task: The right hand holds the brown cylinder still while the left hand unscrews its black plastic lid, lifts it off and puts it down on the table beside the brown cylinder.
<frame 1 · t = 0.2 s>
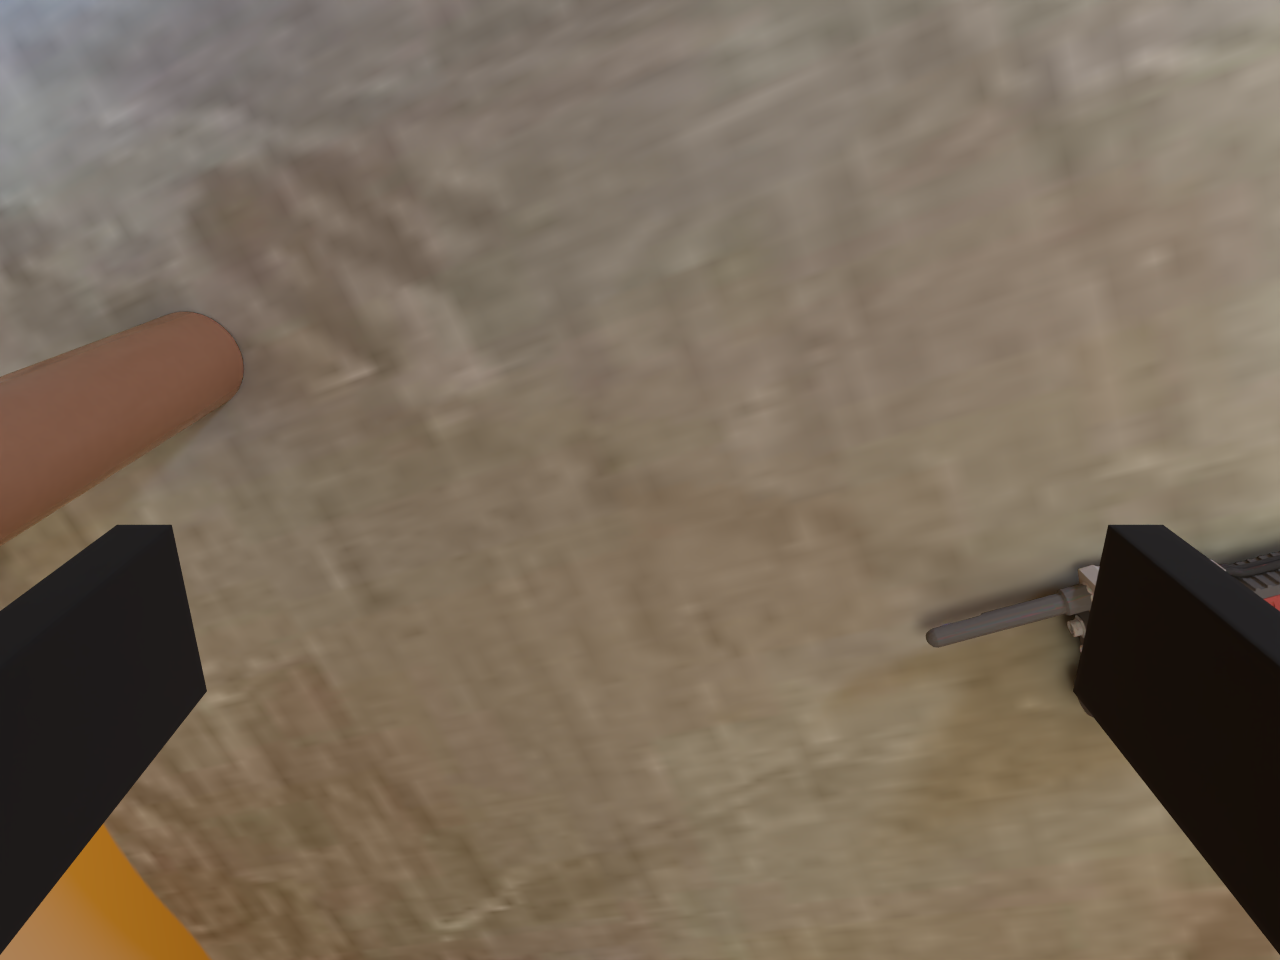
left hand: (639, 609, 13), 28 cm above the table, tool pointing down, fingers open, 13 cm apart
brown cylinder: (193, 361, 40), on the table
walkie-talkie: (1123, 624, 45), on the table
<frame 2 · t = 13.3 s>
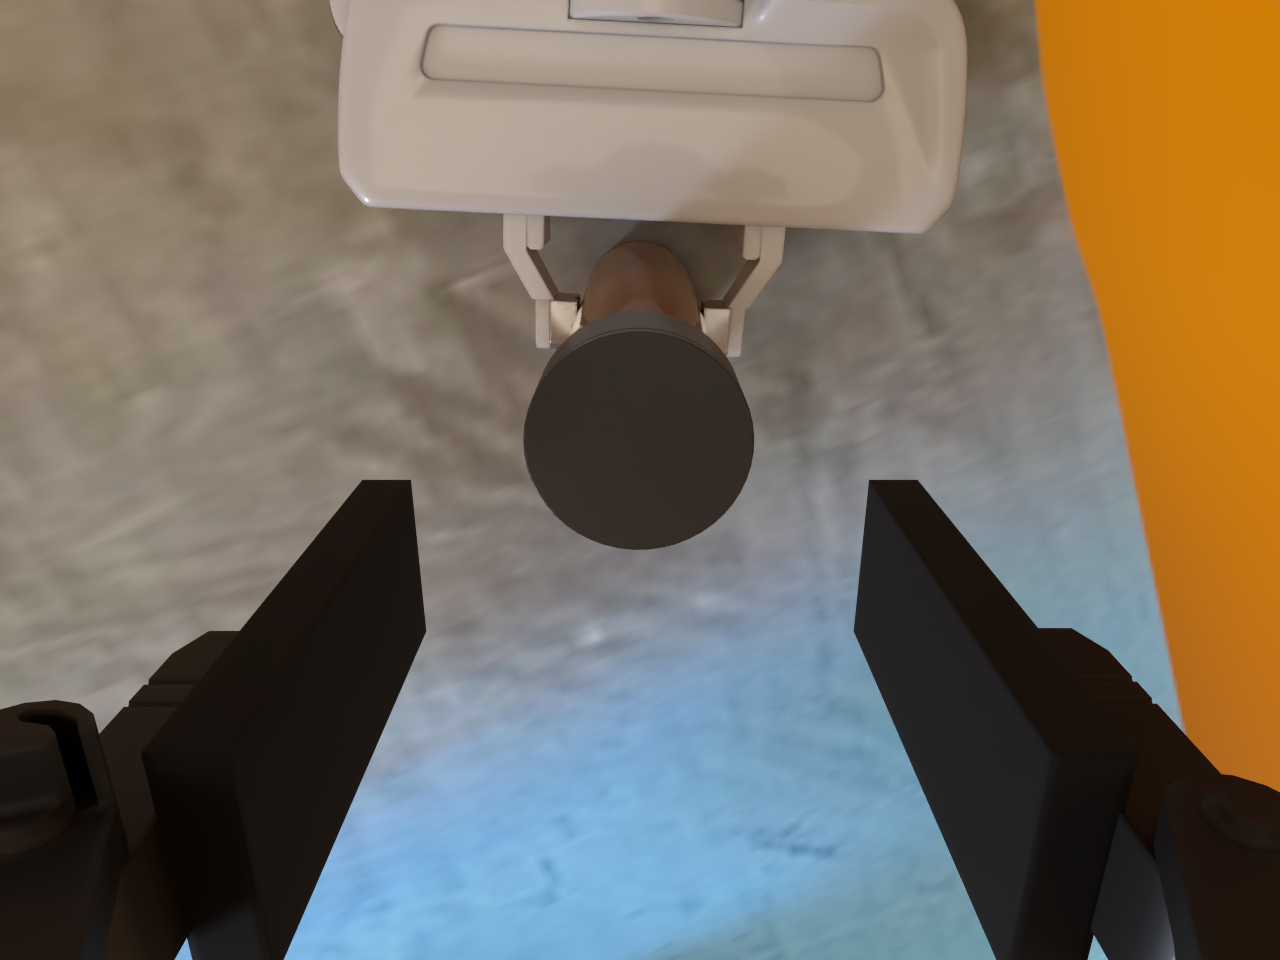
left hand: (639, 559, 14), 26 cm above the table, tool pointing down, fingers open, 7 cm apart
right hand: (639, 349, 32), fingers closed on brown cylinder, 4 cm apart
brown cylinder: (639, 294, 38), on the table, touching right hand
lid: (638, 441, 20), point 20 cm above the table, screwed on, not yet turned
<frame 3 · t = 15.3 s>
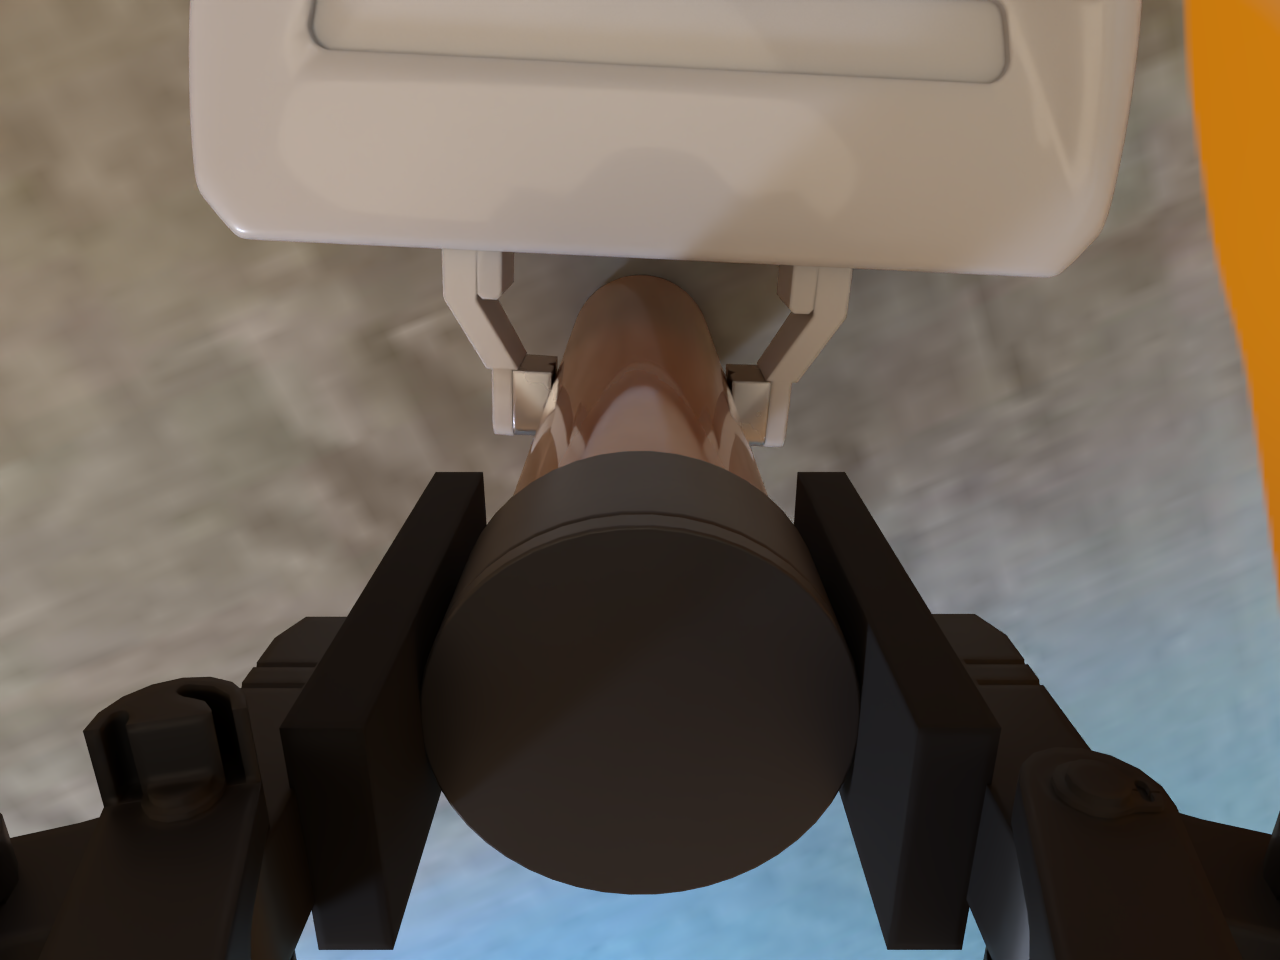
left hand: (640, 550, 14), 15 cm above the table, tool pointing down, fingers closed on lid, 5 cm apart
right hand: (640, 434, 23), fingers closed on brown cylinder, 4 cm apart
brown cylinder: (640, 344, 29), on the table, touching right hand
lid: (640, 709, 10), point 20 cm above the table, screwed on, not yet turned, touching left hand
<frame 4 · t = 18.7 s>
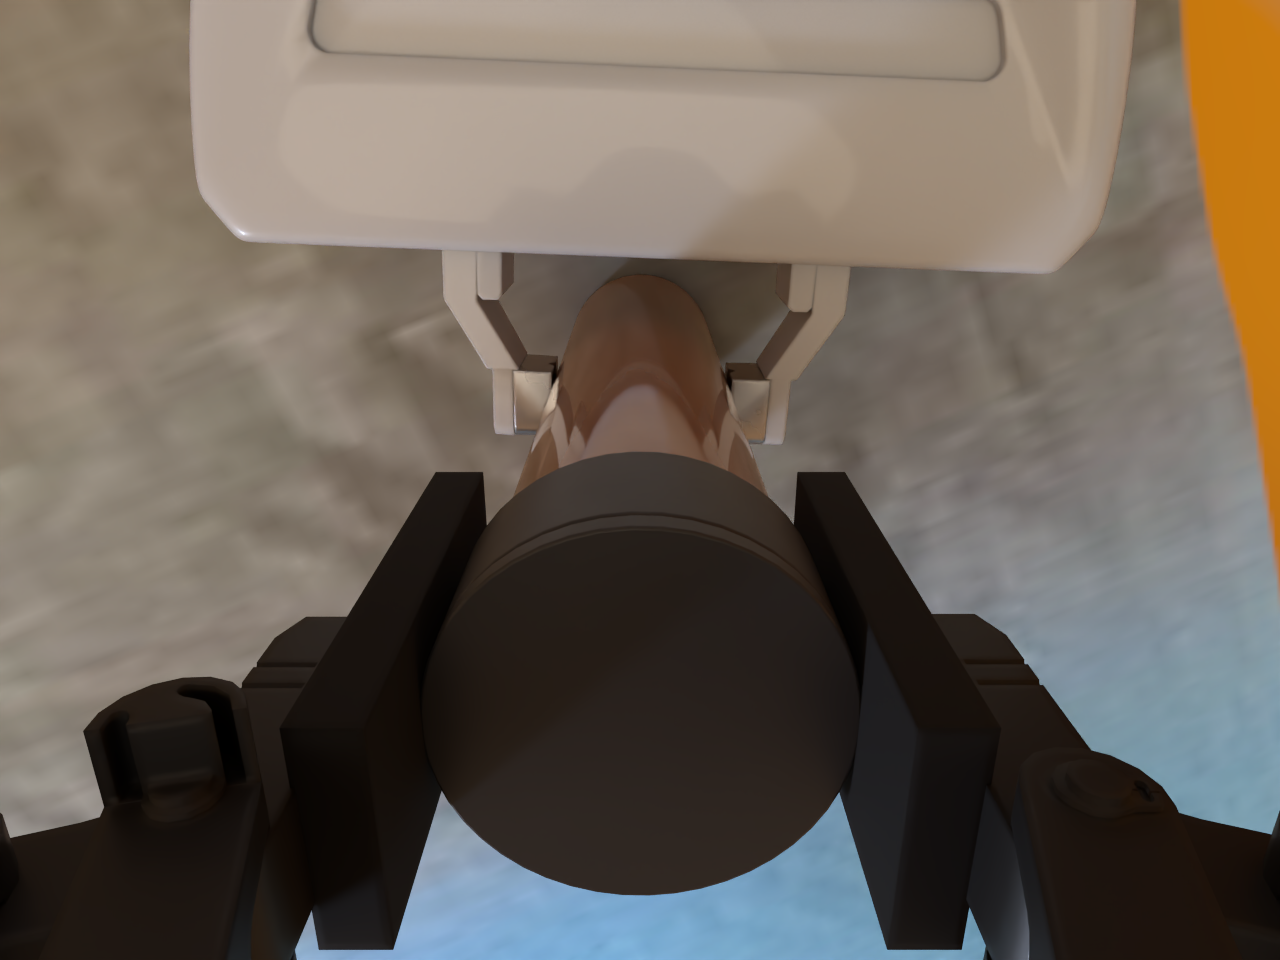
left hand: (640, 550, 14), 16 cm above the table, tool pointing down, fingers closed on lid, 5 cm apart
right hand: (640, 433, 23), fingers closed on brown cylinder, 4 cm apart
brown cylinder: (640, 343, 29), on the table, touching right hand
lid: (640, 710, 10), point 20 cm above the table, turned 102° so far, risen 0.1 cm, still on its thread, touching left hand
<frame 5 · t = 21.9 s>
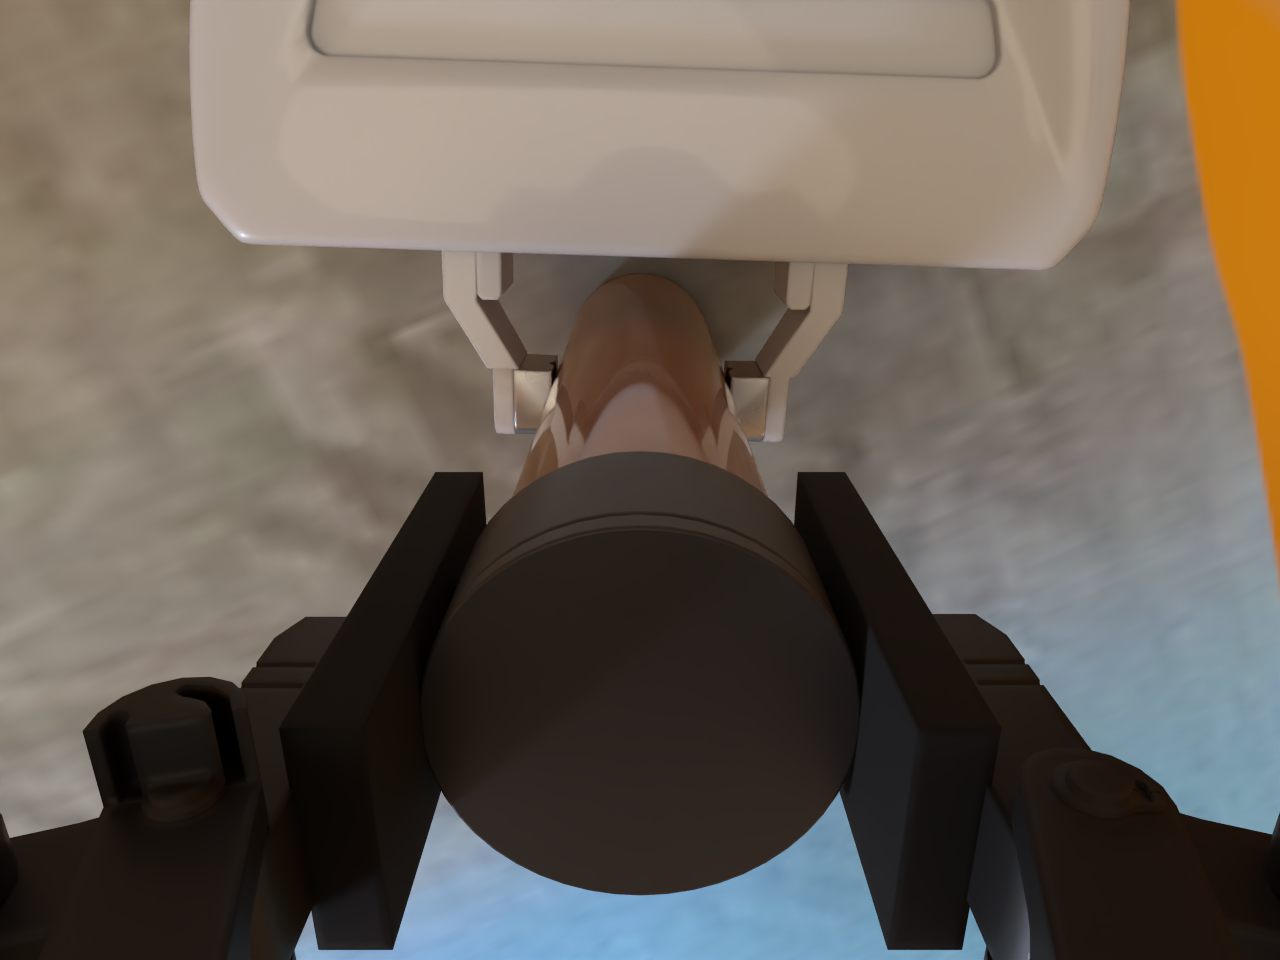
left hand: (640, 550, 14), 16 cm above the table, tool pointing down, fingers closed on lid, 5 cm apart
right hand: (640, 432, 23), fingers closed on brown cylinder, 4 cm apart
brown cylinder: (640, 342, 29), on the table, touching right hand
lid: (640, 710, 10), point 20 cm above the table, turned 205° so far, risen 0.2 cm, still on its thread, touching left hand
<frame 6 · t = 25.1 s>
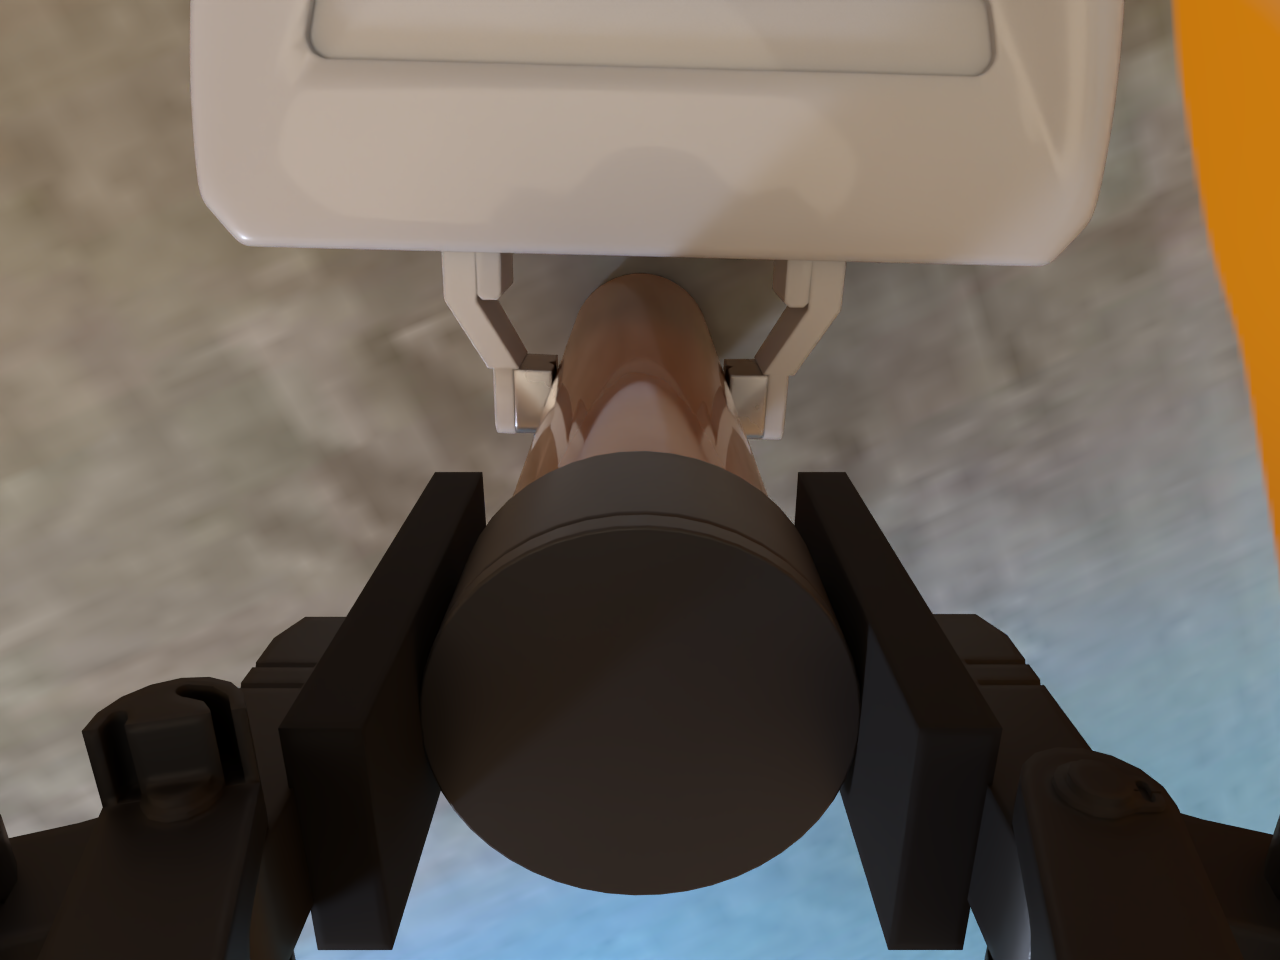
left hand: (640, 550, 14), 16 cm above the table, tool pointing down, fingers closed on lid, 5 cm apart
right hand: (640, 430, 23), fingers closed on brown cylinder, 4 cm apart
brown cylinder: (640, 341, 29), on the table, touching right hand
lid: (640, 709, 10), point 20 cm above the table, turned 308° so far, risen 0.4 cm, still on its thread, touching left hand
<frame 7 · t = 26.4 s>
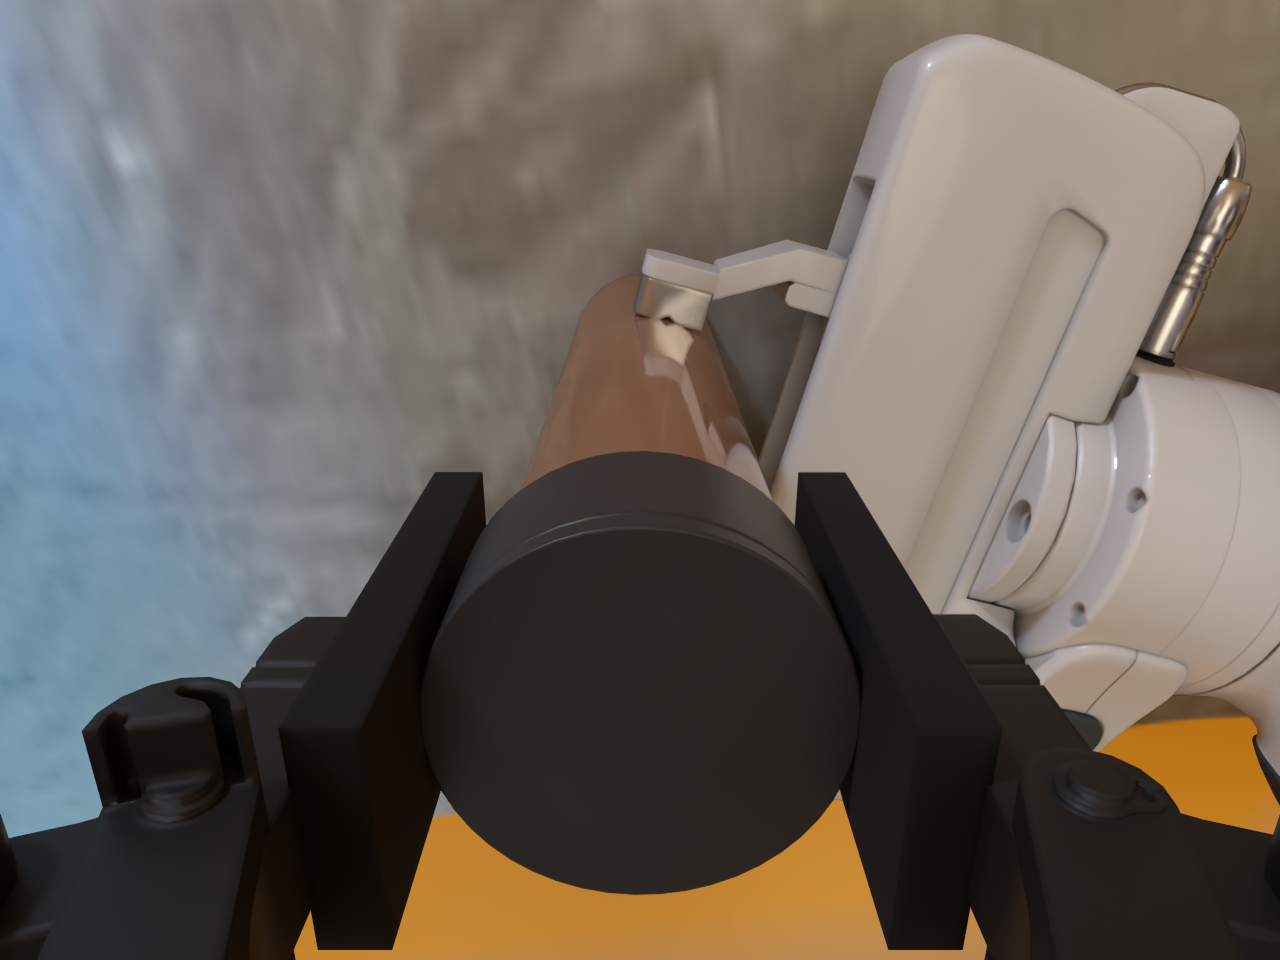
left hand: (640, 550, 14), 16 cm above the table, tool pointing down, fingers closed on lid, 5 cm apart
brown cylinder: (643, 342, 29), on the table, touching right hand
lid: (640, 709, 10), point 20 cm above the table, off its thread, touching left hand
when the left hand's fingers open (0 cm above the table, at t = 32.9 s): lid drops 2 cm, point 2 cm above the table.
when the right hand's fingers open (7 cm above the table, at t = 33.5 s): brown cylinder stays where it is, on the table.
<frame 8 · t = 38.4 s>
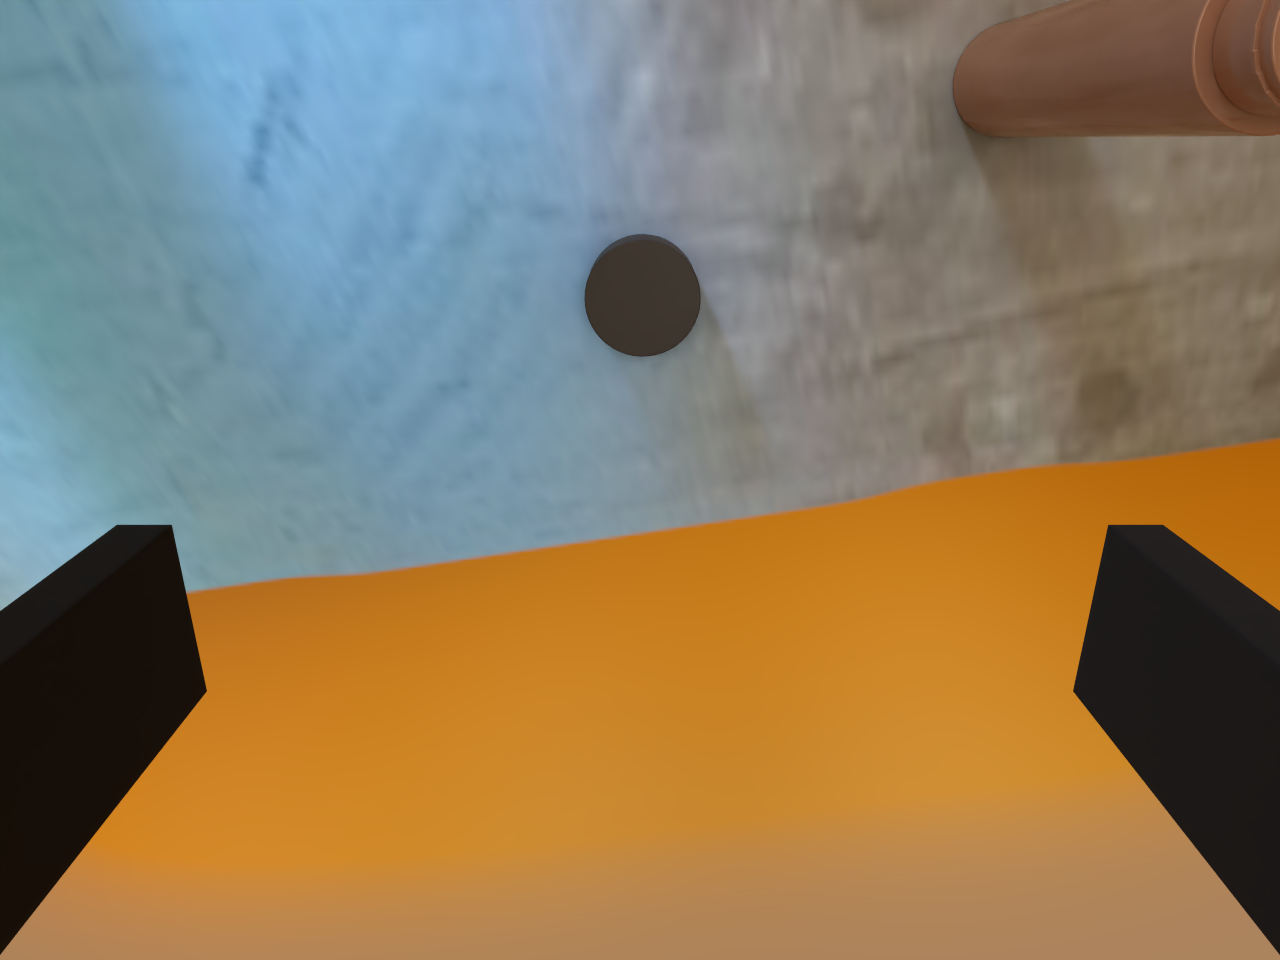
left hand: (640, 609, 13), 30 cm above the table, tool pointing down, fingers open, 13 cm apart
brown cylinder: (1005, 80, 37), on the table
lid: (642, 298, 39), point 2 cm above the table, off its thread
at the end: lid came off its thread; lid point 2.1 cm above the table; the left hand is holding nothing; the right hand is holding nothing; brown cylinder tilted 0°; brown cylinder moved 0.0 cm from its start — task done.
